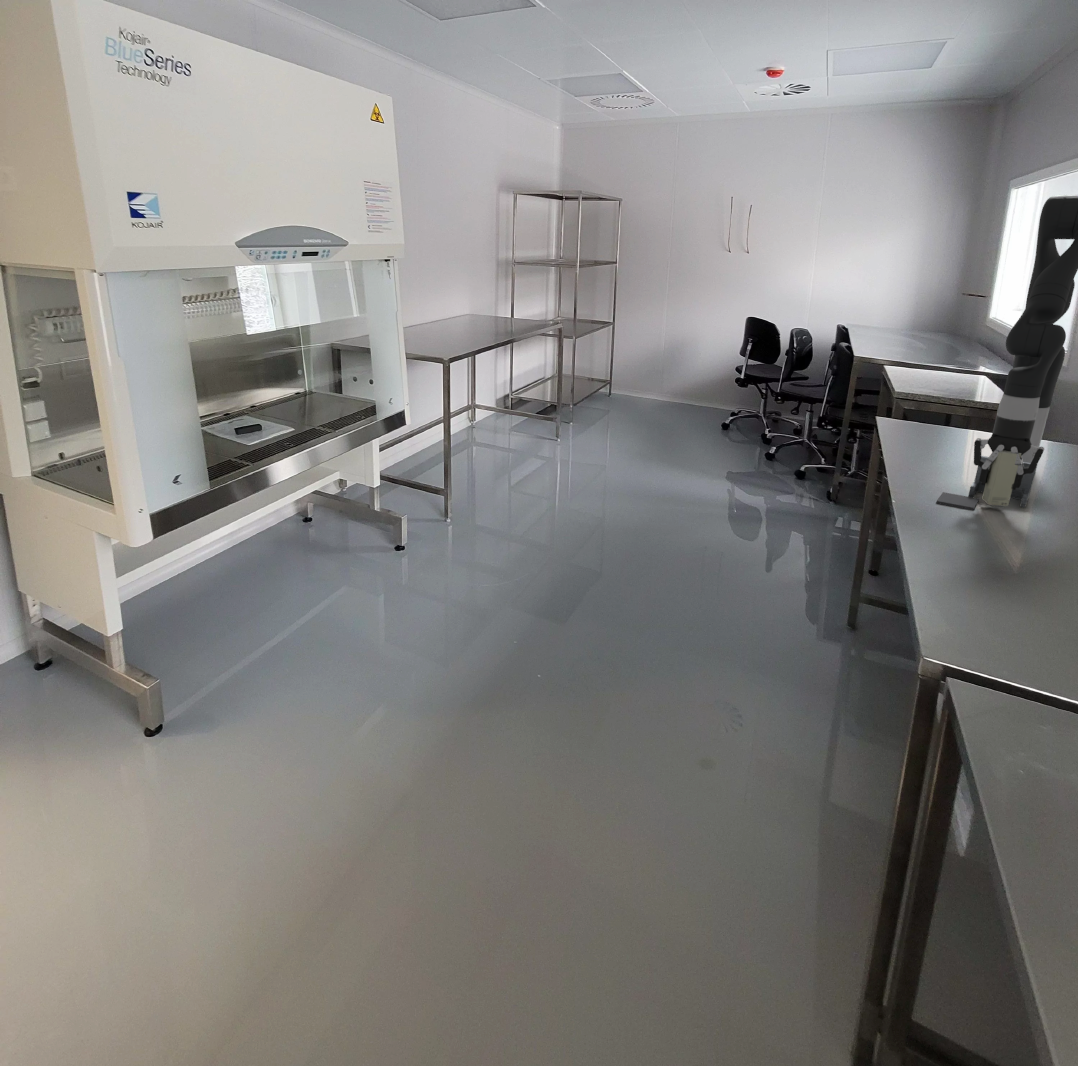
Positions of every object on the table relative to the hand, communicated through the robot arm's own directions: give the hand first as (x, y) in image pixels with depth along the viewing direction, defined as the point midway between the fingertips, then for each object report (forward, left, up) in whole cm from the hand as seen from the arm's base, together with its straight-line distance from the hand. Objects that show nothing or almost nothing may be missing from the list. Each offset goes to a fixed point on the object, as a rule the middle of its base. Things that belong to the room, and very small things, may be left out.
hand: (998, 486), depth 172 cm
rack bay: (-8, 0, -6) cm, 10 cm away
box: (0, 0, -4) cm, 4 cm away
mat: (0, -7, -6) cm, 9 cm away
